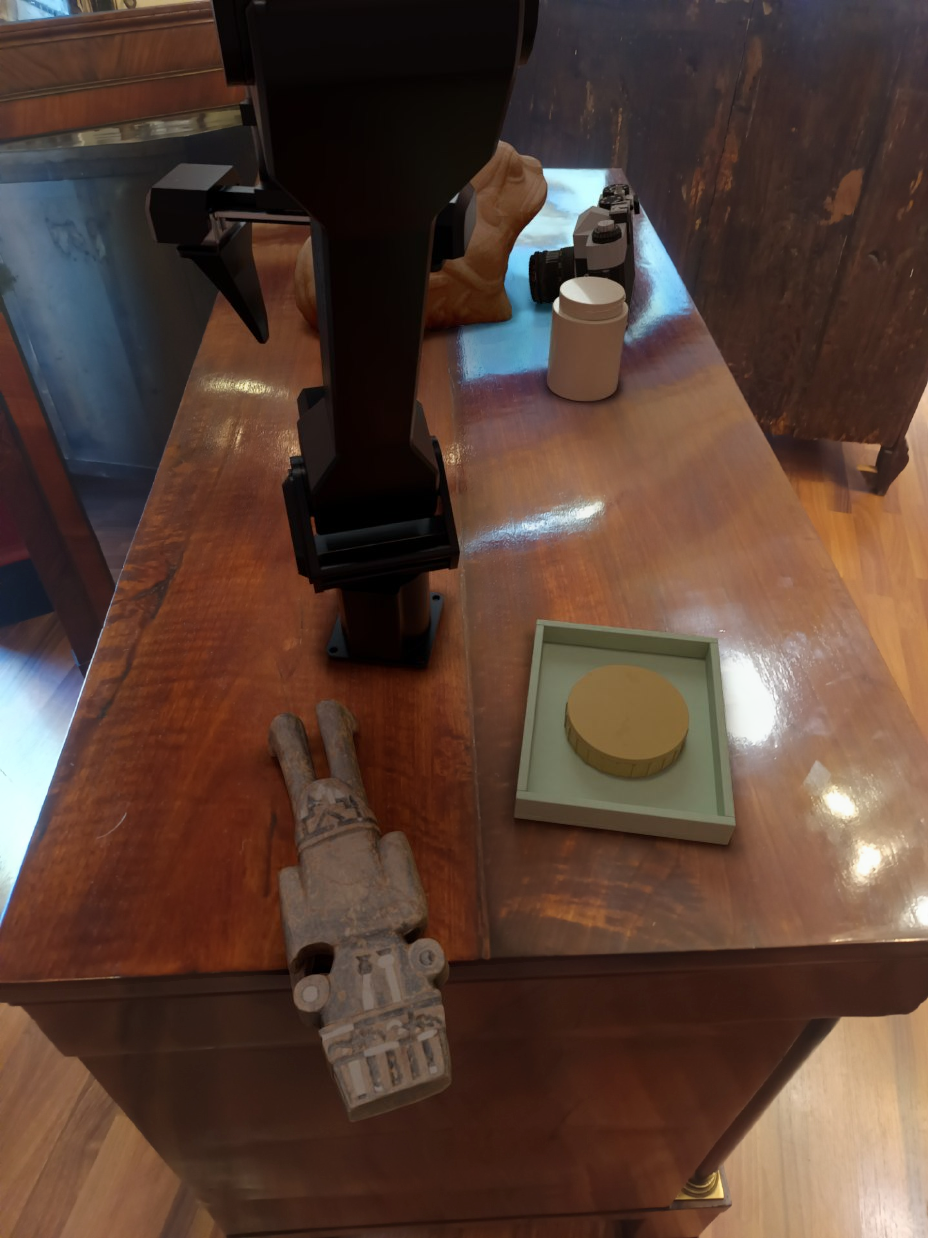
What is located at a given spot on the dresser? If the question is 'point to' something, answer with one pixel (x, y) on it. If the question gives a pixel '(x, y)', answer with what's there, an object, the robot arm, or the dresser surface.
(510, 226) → the ceramic vessel
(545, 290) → the camera
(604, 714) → the lid
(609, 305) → the jar
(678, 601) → the dresser surface
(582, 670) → the tray
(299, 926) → the figurine
